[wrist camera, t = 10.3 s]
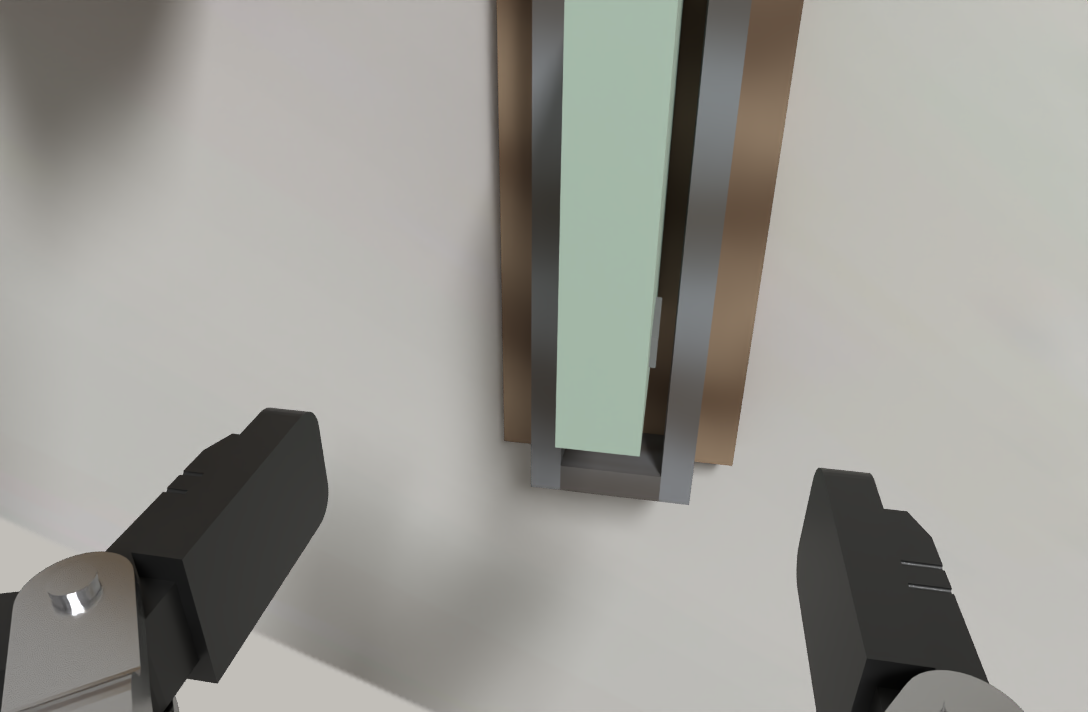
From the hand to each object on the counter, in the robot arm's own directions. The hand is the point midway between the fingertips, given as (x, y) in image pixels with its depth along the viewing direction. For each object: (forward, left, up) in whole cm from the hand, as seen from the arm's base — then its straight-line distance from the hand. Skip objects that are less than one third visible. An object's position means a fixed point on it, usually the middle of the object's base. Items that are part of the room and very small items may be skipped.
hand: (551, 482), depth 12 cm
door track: (0, 0, -20) cm, 20 cm away
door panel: (-1, 0, -18) cm, 18 cm away
